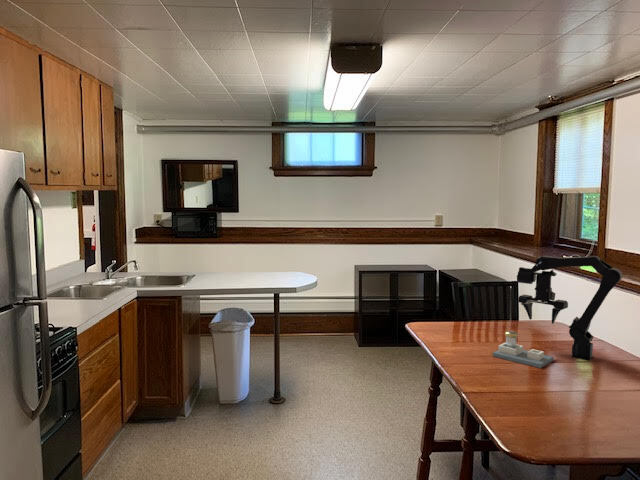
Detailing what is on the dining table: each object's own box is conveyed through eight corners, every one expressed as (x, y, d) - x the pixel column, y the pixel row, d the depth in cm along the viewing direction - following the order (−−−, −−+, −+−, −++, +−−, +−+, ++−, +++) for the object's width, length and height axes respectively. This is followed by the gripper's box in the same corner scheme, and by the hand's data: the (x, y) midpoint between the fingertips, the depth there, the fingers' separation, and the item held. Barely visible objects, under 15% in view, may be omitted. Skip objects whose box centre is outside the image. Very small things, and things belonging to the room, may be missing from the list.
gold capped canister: (519, 351, 195) (520, 332, 194) (514, 354, 191) (514, 335, 191) (507, 349, 198) (508, 330, 198) (502, 351, 195) (502, 332, 194)
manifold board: (553, 360, 189) (553, 350, 189) (540, 368, 180) (540, 357, 180) (506, 349, 203) (507, 340, 202) (492, 356, 194) (492, 346, 193)
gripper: (573, 286, 200) (571, 322, 202) (529, 280, 214) (527, 314, 215) (564, 289, 193) (562, 327, 194) (518, 283, 206) (516, 318, 207)
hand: (541, 321), depth 203 cm, fingers open, 9 cm apart
